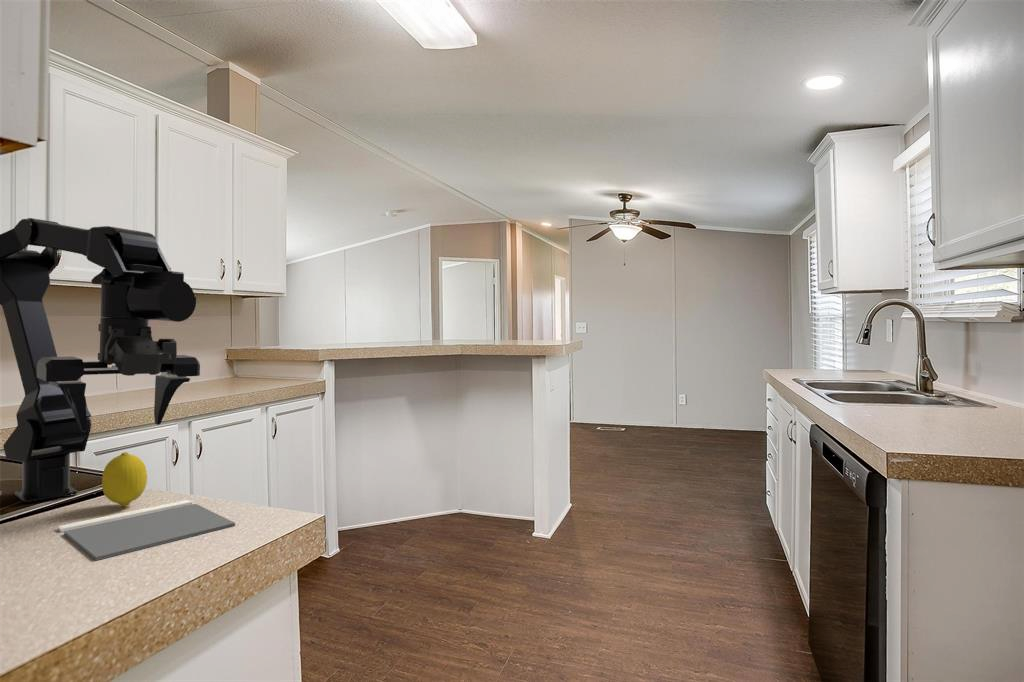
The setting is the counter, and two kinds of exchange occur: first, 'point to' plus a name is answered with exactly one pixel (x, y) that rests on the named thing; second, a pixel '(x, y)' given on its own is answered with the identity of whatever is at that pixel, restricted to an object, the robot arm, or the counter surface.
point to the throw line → (123, 515)
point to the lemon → (124, 479)
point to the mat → (146, 530)
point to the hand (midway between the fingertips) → (122, 427)
